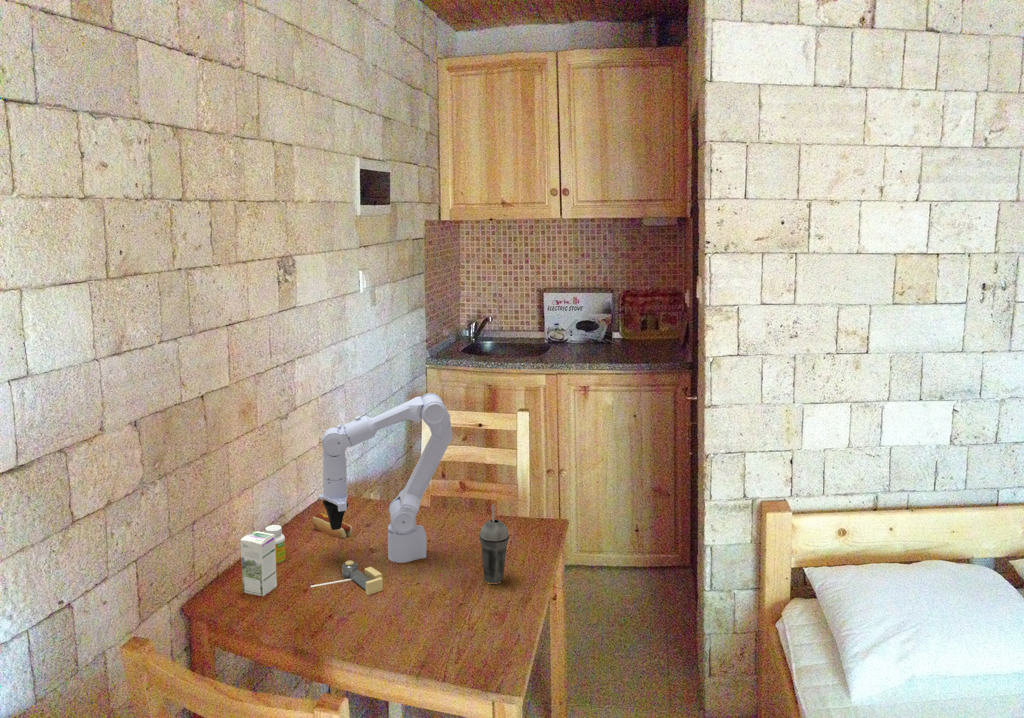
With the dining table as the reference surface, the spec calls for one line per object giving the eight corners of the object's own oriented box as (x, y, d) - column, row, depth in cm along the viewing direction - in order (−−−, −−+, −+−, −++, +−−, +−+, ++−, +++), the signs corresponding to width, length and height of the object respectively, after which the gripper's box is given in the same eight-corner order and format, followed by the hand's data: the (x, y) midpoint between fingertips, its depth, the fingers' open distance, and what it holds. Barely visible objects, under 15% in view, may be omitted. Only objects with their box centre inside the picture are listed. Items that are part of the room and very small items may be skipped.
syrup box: (278, 590, 196) (276, 532, 193) (262, 602, 190) (260, 542, 187) (257, 586, 197) (255, 529, 195) (241, 597, 192) (239, 538, 189)
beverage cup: (513, 577, 205) (515, 501, 201) (500, 589, 199) (502, 510, 195) (486, 571, 208) (488, 495, 204) (473, 583, 202) (474, 505, 198)
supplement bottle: (279, 569, 207) (278, 533, 205) (259, 567, 208) (258, 530, 206) (289, 560, 212) (288, 524, 210) (269, 558, 213) (268, 522, 211)
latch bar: (339, 574, 202) (339, 564, 202) (352, 570, 204) (352, 560, 204) (362, 592, 193) (362, 582, 192) (376, 588, 195) (376, 578, 195)
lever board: (368, 567, 209) (367, 550, 208) (390, 599, 193) (390, 581, 192) (304, 578, 202) (303, 560, 201) (321, 613, 186) (321, 594, 185)
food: (308, 531, 231) (308, 514, 230) (324, 525, 235) (324, 508, 234) (340, 545, 222) (340, 527, 221) (356, 539, 226) (356, 521, 225)
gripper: (312, 469, 210) (313, 520, 212) (325, 488, 197) (326, 542, 199) (339, 466, 213) (340, 516, 215) (354, 484, 200) (355, 537, 203)
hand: (335, 528), depth 208 cm, fingers closed
